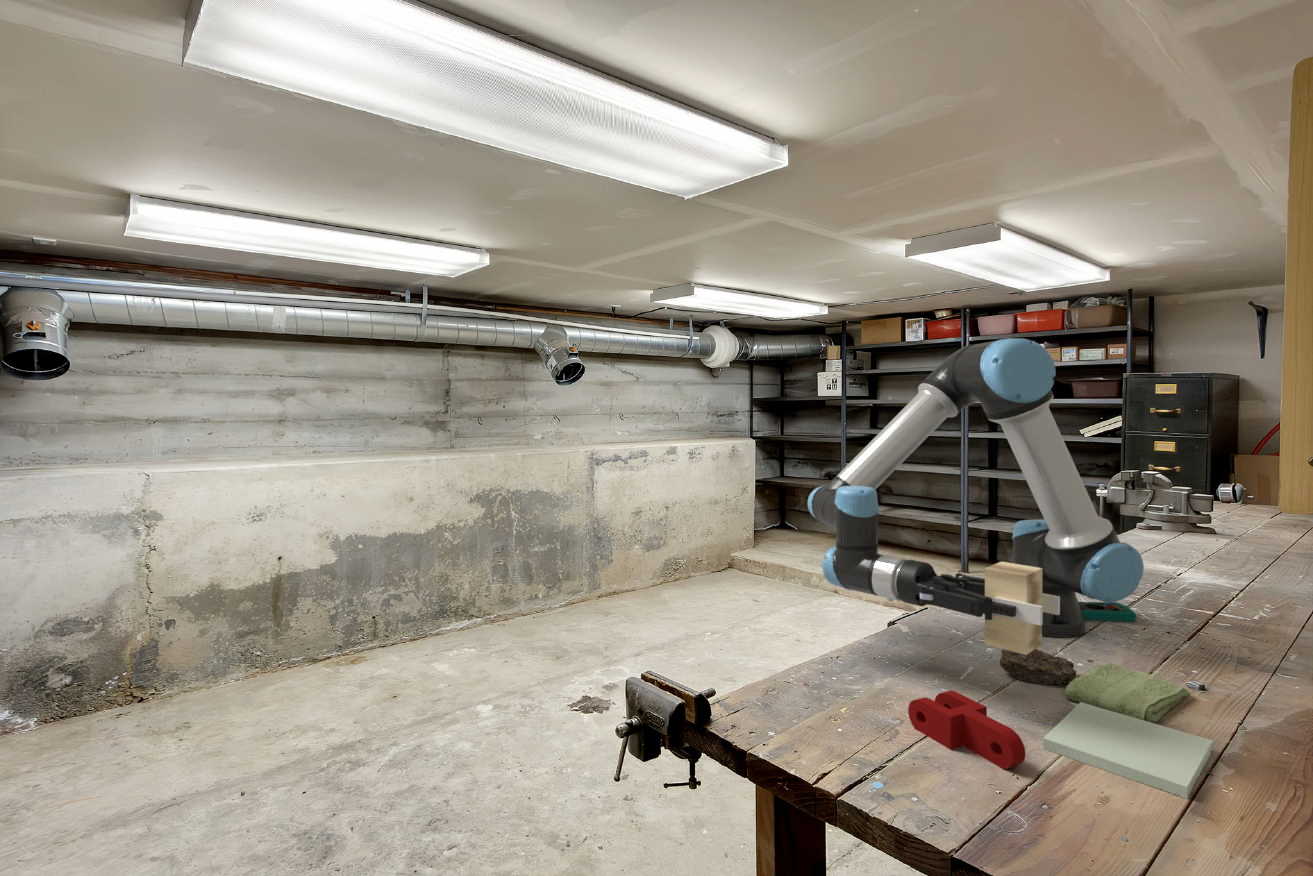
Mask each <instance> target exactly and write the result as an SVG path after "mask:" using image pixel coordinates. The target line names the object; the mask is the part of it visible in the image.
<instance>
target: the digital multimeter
mask: <svg viewBox="0 0 1313 876" xmlns="http://www.w3.org/2000/svg"><path fill="white" fill-rule="evenodd" d="M1078 603H1079V605H1080V608H1081V611H1082V614H1083V617H1084V619H1085V621H1093V622H1095V621H1096V622H1097V621H1098V622H1125V623H1136V621H1137V614H1136V612H1135V611H1134V610H1133V609H1131V608H1130V607H1128V606H1127V605H1125V604H1123V603H1121V602H1119V601H1116V602H1103V601H1078Z"/></svg>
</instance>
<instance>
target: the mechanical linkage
mask: <svg viewBox="0 0 1313 876" xmlns="http://www.w3.org/2000/svg"><path fill="white" fill-rule="evenodd" d="M907 709H908V710H907V711H908V712H907V713H908V717H909V718H908V719H909V721H910V723H911V725H912V727H913V728H914V729H915V730H916V731H918V732H920V733H921V734H923V735H925V737H928V738H930V739H931V740H932V741H934V742H936V743H938V744H940V745H941V746H943V747H945V748H946V749H948V750H950V751H952V750H955V749H958V748H961V747H964V748H965V749H967V750H969V751H971V752H972V753H974V754H976V755H977V756H979V757H982V758H983V759H985V760H986V761H988V762H990V763H991V764H993V765H995V766H997V767H998V768H1001V769H1002V770H1007V769H1010V768H1012V767H1015V766H1019V765H1021V764H1022V763H1023V762H1024V761H1025V759H1026V748H1025V745H1024V742H1023V740H1022V738H1021V737H1020V735H1018V733H1017V732H1016V731H1015V730H1014V729H1012V728H1011V727H1010V726H1008V725H1005V724H1003V723H1001V722H999V721H997V720H996V719H993V718H991V717H990V716H988V715H987V714H988V713H987V710H988V707H987V706H986V705H984V704H982V703H980V702H978V701H976V700H974V699H972V698H970V697H967V696H965V695H964V694H962V693H960V692H958V691H956V690H955V691H954V690H947V691H943V692H939V693H938V694H937V695H936V696H935V698H934V700H933V699H931V698H929V697H926V696H925V697H921V698H916V699H912V700H911V701H910V703H909V705H908V708H907Z"/></svg>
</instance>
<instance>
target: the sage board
mask: <svg viewBox="0 0 1313 876" xmlns="http://www.w3.org/2000/svg"><path fill="white" fill-rule="evenodd" d="M1213 744H1214V740H1212V739H1208V738H1206V737H1202V736H1198V735H1195V734H1191V733H1188V732H1184V731H1182V730H1178V729H1174V728H1171V727H1167V726H1166V725H1165V726H1164V725H1160V724H1157V723H1155V722H1154V723H1151V722H1147V721H1144V720H1140V719H1137V718H1134V717H1130V716H1127V715H1123V714H1120V713H1116V712H1113V711H1109V710H1106V709H1103V708H1099V707H1096V706H1092V705H1089V704H1085V703H1082V702H1080V703H1079V702H1078V704H1077V705H1076V706H1075V707H1074V708H1073V709H1071V711H1070V712H1069V713H1068V714H1067V715H1065V717H1063V718H1062V719H1061V720H1060V722H1059V723H1057V724H1056V725H1055V727H1053V728H1052V729H1051V730H1050V731H1049V732H1048V733H1047V734H1046V735H1045V736H1044V737H1043V738H1042V748H1043V749H1044V750H1046V751H1049V752H1052V753H1055V754H1058V755H1061V756H1063V757H1067V758H1069V759H1072V760H1075V761H1077V762H1081V763H1083V764H1086V765H1089V766H1092V767H1095V768H1097V769H1100V770H1103V771H1107V772H1110V773H1112V774H1115V775H1117V776H1120V777H1123V778H1126V779H1129V780H1131V781H1135V782H1137V781H1138V783H1140V782H1141V783H1140V784H1143V783H1144V785H1146V786H1149V785H1150V786H1149V787H1152V788H1154V787H1155V789H1157V788H1158V789H1157V790H1160V789H1162V790H1161V791H1163V790H1164V792H1166V791H1167V792H1166V793H1169V792H1170V793H1169V794H1172V795H1174V794H1176V795H1175V796H1177V795H1179V796H1178V797H1180V798H1183V799H1185V800H1187V799H1188V797H1189V796H1190V793H1191V792H1192V791H1193V788H1194V787H1193V786H1195V785H1196V783H1197V781H1198V779H1199V777H1200V776H1201V774H1202V772H1203V770H1204V768H1205V766H1206V764H1207V763H1208V761H1207V760H1209V759H1208V757H1209V755H1210V753H1211V751H1212V750H1214V745H1213ZM1212 752H1213V751H1212ZM1211 754H1212V753H1211ZM1210 756H1211V755H1210ZM1209 758H1210V757H1209ZM1205 763H1206V764H1205ZM1204 765H1205V766H1204ZM1203 767H1204V768H1203ZM1202 769H1203V770H1202ZM1201 771H1202V772H1201ZM1200 773H1201V774H1200ZM1198 776H1199V777H1198ZM1197 778H1198V779H1197ZM1196 780H1197V781H1196ZM1195 782H1196V783H1195ZM1194 784H1195V785H1194Z"/></svg>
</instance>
